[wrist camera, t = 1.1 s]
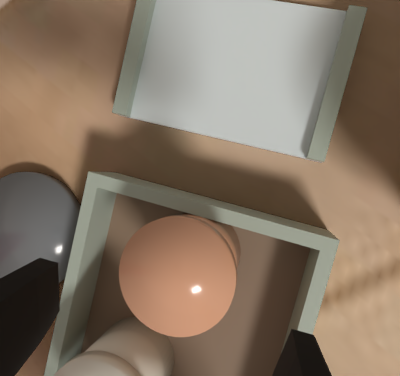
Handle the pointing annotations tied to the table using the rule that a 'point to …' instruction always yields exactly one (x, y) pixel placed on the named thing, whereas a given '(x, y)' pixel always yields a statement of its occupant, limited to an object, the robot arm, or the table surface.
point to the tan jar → (180, 273)
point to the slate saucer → (36, 221)
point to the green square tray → (245, 288)
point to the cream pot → (124, 353)
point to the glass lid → (240, 70)
